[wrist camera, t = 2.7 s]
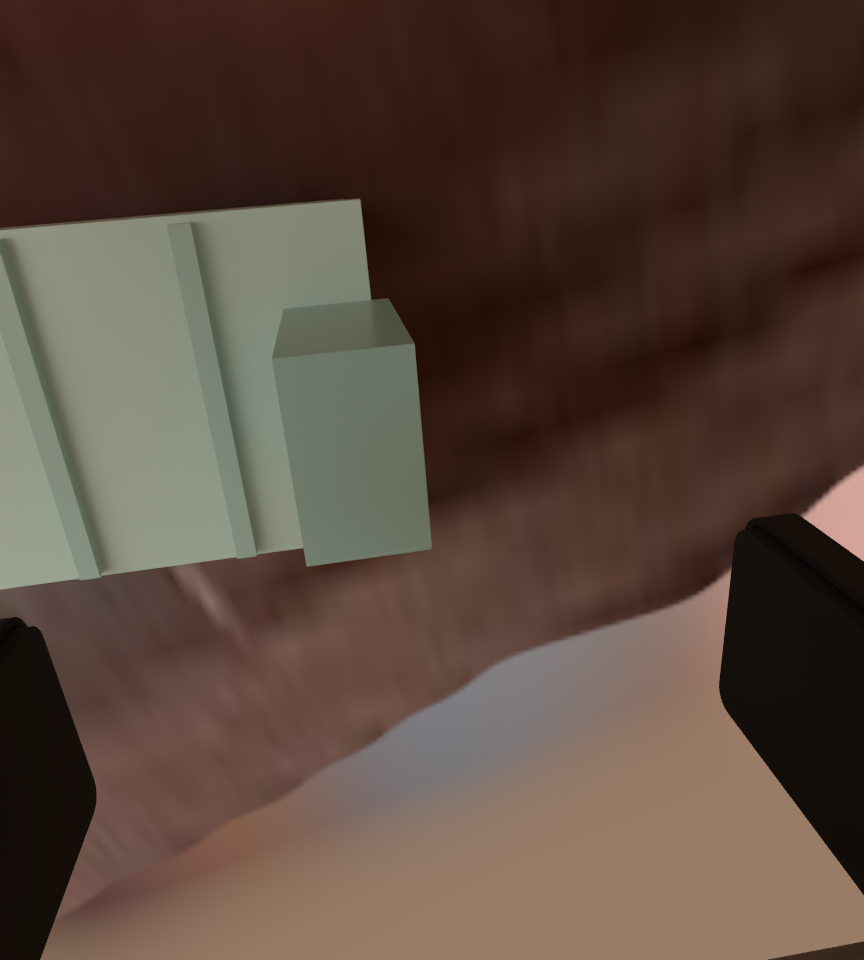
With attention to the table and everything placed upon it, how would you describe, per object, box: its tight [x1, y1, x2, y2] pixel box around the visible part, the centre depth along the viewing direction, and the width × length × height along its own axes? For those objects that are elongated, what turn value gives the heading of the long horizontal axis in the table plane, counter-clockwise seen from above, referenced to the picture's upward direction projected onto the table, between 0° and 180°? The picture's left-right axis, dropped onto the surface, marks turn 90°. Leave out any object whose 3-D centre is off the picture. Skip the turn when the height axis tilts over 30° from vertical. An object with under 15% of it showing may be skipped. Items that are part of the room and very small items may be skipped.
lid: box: [0, 199, 432, 589], centre depth 19 cm, size 10×15×8 cm
